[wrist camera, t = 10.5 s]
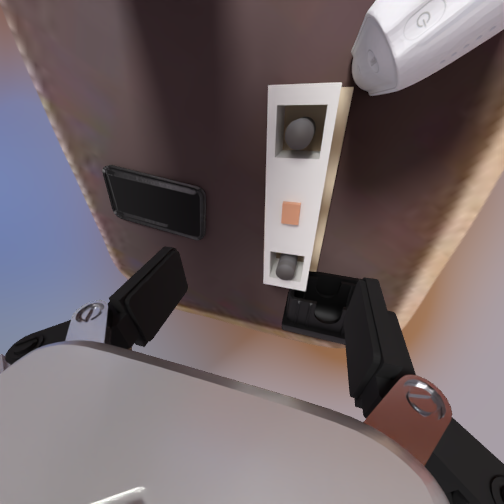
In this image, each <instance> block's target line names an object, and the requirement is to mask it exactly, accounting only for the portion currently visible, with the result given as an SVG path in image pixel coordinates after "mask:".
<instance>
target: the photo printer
mask: <svg viewBox="0 0 504 504" xmlns="http://www.w3.org/2000/svg"><path fill="white" fill-rule="evenodd" d="M503 29H504V0H376V1H375V2H374V4H373V5H372V6H371V8H370V9H369V10H368V12H367V13H366V15H365V18H364V21H363V23H362V26H361V28H360V31H359V34H358V36H357V39H356V41H355V44H354V46H353V48H352V51H351V53H352V55H353V62H352V75H353V79H354V81H355V83H356V84H357V86H358V87H359V88H361V89H363V90H365V91H368V93H369V95H370V96H375V95H381V94H387V93H392V92H396V91H399V90H402V89H404V88H406V87H408V86H411V85H413V84H415V83H417V82H419V81H421V80H423V79H425V78H426V77H428V76H430V75H432V74H433V73H435V72H437V71H438V70H440V69H442V68H444V67H445V66H447V65H448V64H450V63H452V62H453V61H455V60H456V59H458V58H460V57H461V56H463V55H464V54H466V53H468V52H469V51H471V50H472V49H474V48H476V47H477V46H479V45H480V44H482V43H483V42H485V41H486V40H488V39H490V38H491V37H493V36H494V35H496V34H497V33H499V32H500V31H502V30H503Z"/></svg>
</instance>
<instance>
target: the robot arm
mask: <svg viewBox="0 0 504 504" xmlns="http://www.w3.org/2000/svg"><path fill="white" fill-rule="evenodd" d="M187 289H188V285H187V281H186V277H185V273H184V270H183V266H182V262H181V258H180V254H179V252H178V251H177V250H176V248H171V247H163V248H162V249H161V250H160V251H159V252H158V253H157V254H156V255H155V256H154V257H152V258H151V259H150V260H149V261H148V262H147V263H146V264H145V265H144V266H143V267H142V268H141V269H140V270H138V271H137V272H136V273H135V274H134V275H133V276H132V277H131V278H130V279H129V280H128V281H127V282H126V283H124V285H122V286H121V287H120V288H119V289H118V290H117V291H116V292H115V293H114V294H113V295H112V296H111V297H110V298H109V300H110V302H109V303H108V304H107V303H106V302H105V301H102V300H97V301H92V302H89V303H87V304H85V305H83V306H81V307H80V308H79V309H78V310H77V311H76V312H75V313H74V314H73V316H72V318H71V320H69V321H67V322H64V323H61V324H58V325H56V326H52V327H50V328H47V329H44V330H41V331H38V332H35V333H32V334H30V335H28V336H25V337H24V338H22V339H20V340H19V341H18V342H16V343H15V344H14V345H13V346H12V347H11V348H10V349H9V350H8V352H7V353H6V355H5V356H3V355H2V354H1V355H0V504H504V464H503V463H502V462H501V461H500V460H498V458H496V457H495V456H494V455H493V454H492V453H491V452H490V451H489V450H488V449H486V448H485V447H484V446H483V445H482V444H481V443H480V442H479V441H478V440H477V439H475V438H474V437H473V436H472V435H471V434H470V433H469V432H468V431H466V430H465V429H464V428H463V427H462V426H461V425H460V424H459V423H458V422H456V420H454V419H453V418H452V410H451V406H450V404H449V402H448V400H447V398H446V397H445V396H444V394H443V393H442V392H441V390H439V389H438V388H437V387H436V386H435V385H434V384H433V383H431V382H430V381H428V380H427V379H425V378H422V377H420V376H417V375H416V374H415V371H414V368H413V365H412V362H411V359H410V356H409V353H408V350H407V347H406V343H405V340H404V337H403V335H402V331H401V328H400V325H399V322H398V319H397V316H396V314H395V313H394V312H391V311H387V308H386V304H385V301H384V297H383V294H382V291H381V287H380V284H379V281H378V280H377V279H371V278H363V279H362V280H358V282H357V284H356V287H355V290H354V292H353V295H352V298H351V301H350V303H349V306H348V309H347V312H346V314H345V317H344V332H345V344H346V356H347V368H348V380H349V391H350V396H351V397H353V398H355V406H356V407H359V408H362V409H363V415H364V417H365V418H366V420H365V421H364V422H361V421H359V420H357V419H354V418H352V417H350V416H347V415H344V414H342V413H339V412H336V411H333V410H331V409H328V408H324V407H321V406H318V405H315V404H312V403H309V402H306V401H302V400H299V399H296V398H293V397H290V396H286V395H283V394H280V393H276V392H273V391H269V390H266V389H263V388H259V387H256V386H253V385H249V384H246V383H242V382H239V381H236V380H232V379H229V378H225V377H221V376H219V375H215V374H212V373H208V372H205V371H202V370H198V369H195V368H191V367H188V366H184V365H181V364H177V363H174V362H170V361H167V360H163V359H160V358H156V357H153V356H149V355H146V354H142V353H139V352H135V351H132V346H133V344H134V343H135V344H136V345H139V346H143V347H145V346H146V344H147V343H148V341H151V340H152V339H153V338H154V336H155V335H156V334H157V332H158V331H159V329H160V328H161V326H162V325H163V324H164V322H165V321H166V320H167V318H168V317H169V315H170V314H171V313H172V311H173V310H174V308H175V307H176V306H177V304H178V303H179V301H180V300H181V299H182V297H183V296H184V294H185V293H186V291H187Z"/></svg>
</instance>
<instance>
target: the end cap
mask: <svg viewBox="0 0 504 504" xmlns="http://www.w3.org/2000/svg"><path fill="white" fill-rule="evenodd" d="M358 280H362V279H358V278H352V277H346V276H340V275H334V274H328V273H323V272H317V271H316V272H313V271H309V274H308V280H307V286H306V291H301V290H295V289H290V291H289V292H288V297H287V301H286V306H285V311H284V315H283V320H282V329H283V330H286V331H290V332H294V333H298V334H302V335H307V336H311V337H315V338H319V339H323V340H327V341H331V342H336V343H340V344H344V345H346V344H345V332H344V317H345V314H346V312H347V309H348V306H349V303H350V301H351V298H352V295H353V292H354V290H355V287H356V284H357V282H358Z"/></svg>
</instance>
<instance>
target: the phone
mask: <svg viewBox="0 0 504 504" xmlns="http://www.w3.org/2000/svg"><path fill="white" fill-rule="evenodd" d="M103 176H104V180H105V183H106V187H107V191H108V195H109V198H110V202H111V206H112V209H113V212H114V213H115V215H116V216H117V217H119V218H121V219H125V220H128V221H132V222H135V223H139V224H142V225H145V226H149V227H152V228H156V229H159V230H163V231H166V232H169V233H173V234H176V235H180V236H183V237H187V238H190V239H193V240H201V239H202V238H203V237H204V236H205V231H204V230H205V212H206V196H205V193H204V191H203V190H202V189H201V188H200V187H198V186H194V185H190V184H186V183H182V182H178V181H174V180H170V179H166V178H162V177H158V176H154V175H150V174H146V173H142V172H138V171H134V170H130V169H125V168H121V167H117V166H113V165H109V166H105V167H104V168H103Z"/></svg>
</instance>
